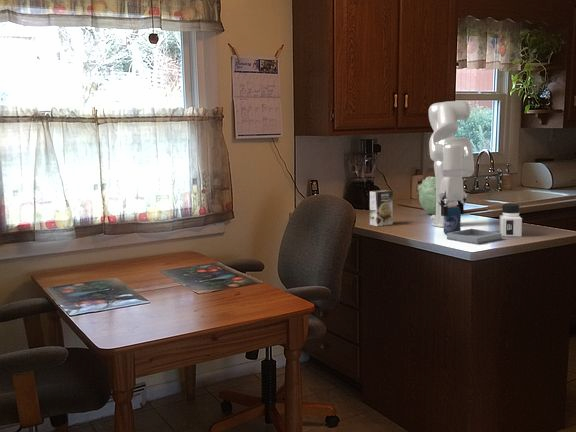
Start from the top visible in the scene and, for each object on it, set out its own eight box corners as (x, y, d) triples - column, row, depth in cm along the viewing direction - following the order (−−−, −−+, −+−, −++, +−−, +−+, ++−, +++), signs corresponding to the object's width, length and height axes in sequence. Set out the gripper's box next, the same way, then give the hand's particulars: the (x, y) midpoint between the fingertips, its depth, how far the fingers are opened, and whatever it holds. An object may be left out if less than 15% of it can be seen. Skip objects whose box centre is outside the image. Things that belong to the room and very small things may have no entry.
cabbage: (454, 217, 304) (454, 177, 301) (415, 216, 310) (415, 177, 307) (456, 213, 318) (457, 174, 315) (419, 212, 325) (419, 174, 322)
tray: (446, 239, 250) (446, 233, 249) (471, 234, 258) (471, 228, 258) (477, 244, 237) (477, 238, 237) (501, 239, 246) (501, 233, 245)
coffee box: (377, 226, 286) (377, 192, 283) (369, 224, 291) (368, 190, 289) (393, 224, 290) (393, 190, 287) (385, 222, 295) (384, 189, 293)
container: (521, 236, 250) (522, 204, 248) (501, 236, 251) (502, 205, 250) (518, 233, 257) (519, 202, 255) (499, 233, 259) (499, 202, 257)
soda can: (442, 235, 257) (442, 207, 256) (444, 232, 264) (444, 205, 262) (459, 236, 255) (459, 207, 253) (461, 233, 261) (461, 205, 260)
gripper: (459, 173, 263) (459, 212, 265) (431, 174, 254) (431, 216, 256) (473, 173, 257) (473, 213, 259) (445, 175, 248) (445, 217, 249)
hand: (452, 215), depth 257 cm, fingers open, 9 cm apart
